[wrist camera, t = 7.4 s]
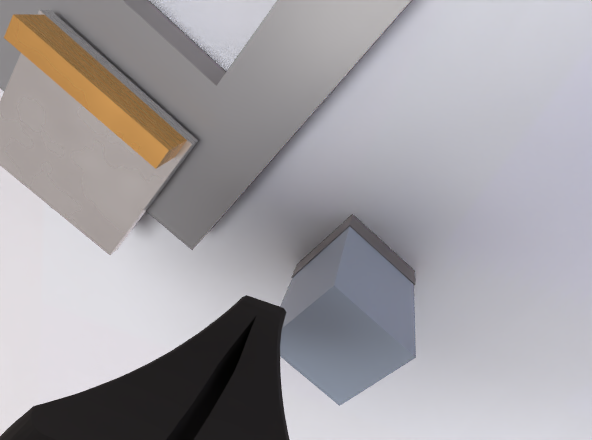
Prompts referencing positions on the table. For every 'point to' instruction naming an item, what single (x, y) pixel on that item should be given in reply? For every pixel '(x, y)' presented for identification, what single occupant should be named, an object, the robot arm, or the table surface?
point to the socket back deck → (167, 103)
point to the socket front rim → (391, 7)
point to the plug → (349, 313)
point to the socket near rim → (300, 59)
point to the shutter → (84, 131)
